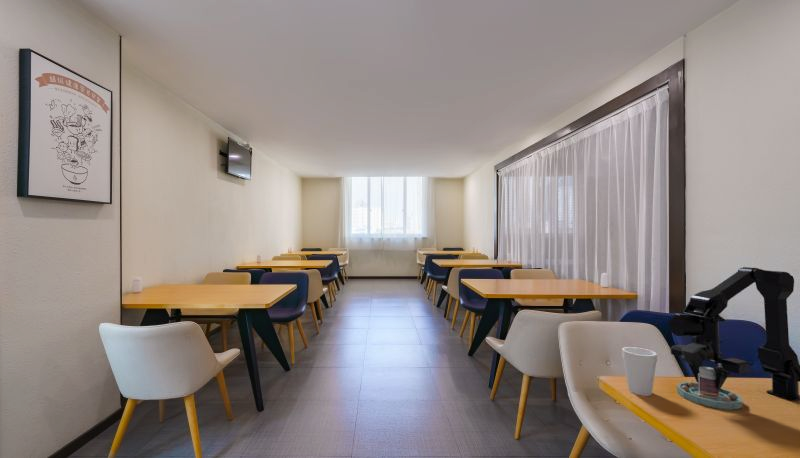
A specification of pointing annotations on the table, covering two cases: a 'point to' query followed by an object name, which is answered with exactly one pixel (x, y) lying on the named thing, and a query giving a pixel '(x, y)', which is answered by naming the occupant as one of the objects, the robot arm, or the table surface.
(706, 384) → the pill bottle
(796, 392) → the robot arm
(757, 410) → the table surface
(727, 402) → the tray
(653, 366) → the foam cup
